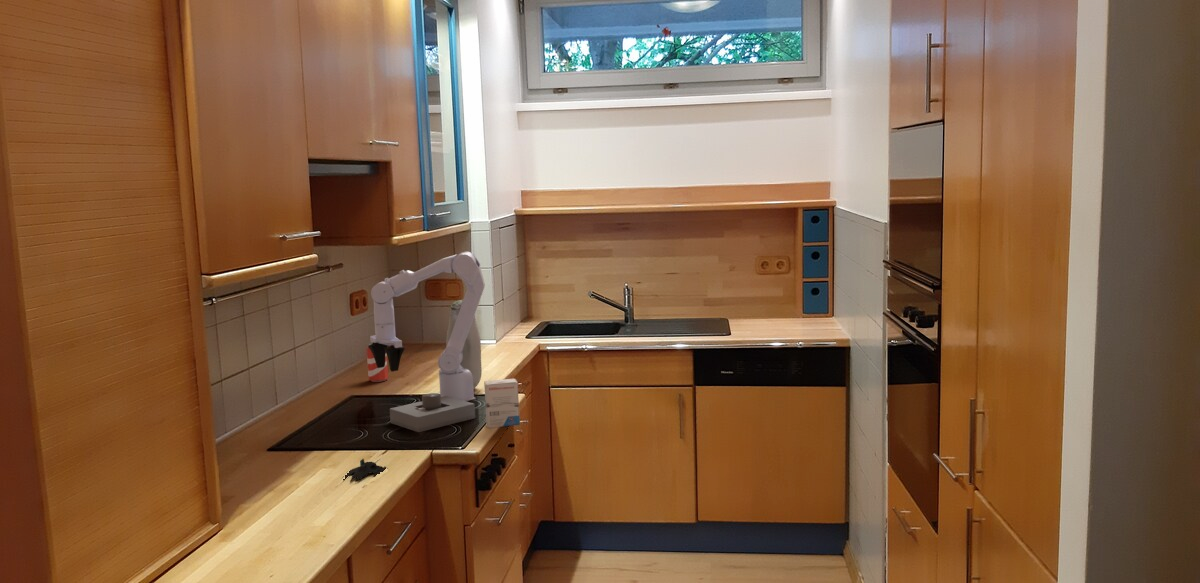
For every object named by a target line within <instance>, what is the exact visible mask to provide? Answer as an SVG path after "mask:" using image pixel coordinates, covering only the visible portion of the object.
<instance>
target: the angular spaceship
mask: <svg viewBox="0 0 1200 583" xmlns="http://www.w3.org/2000/svg"><path fill="white" fill-rule="evenodd" d="M380 460H381V458H379V459H378V461H380ZM386 468H387V467H386V466H384V467H383V466H381V465H377V461H375V462H374V461H365V459H364V458H362V459H361V460H359V466H357V467H354V468H352V469H350V471H349V470H348V471H349V473H347V472H346V473H347V475H345V474H344V475H345V479H346V478H347V477H348V476H349V477H351V479H350V480H349V482H350V483H351V482H352V481H354V480H355V479H356V480H355V481H354V483H356V482H359V481H360V480H362V479H364V478H366V477H367V476H369V475H370V474H374V475H373V476H376V475H377V474H380V472H383V471H384V470H385V469H386ZM351 474H352V475H351ZM349 477H348V478H349ZM348 478H347V479H348ZM345 479H343V480H344V481H345ZM347 479H346V480H347Z"/></svg>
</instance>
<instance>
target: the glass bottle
mask: <svg viewBox="0 0 1200 583" xmlns="http://www.w3.org/2000/svg"><path fill="white" fill-rule="evenodd" d="M463 300H464V299H460V300H456V301H454V302H452V304H451V305H450V309H449V321H448V328H447V332H446V340H445V341H446V344H445V345H447V344H448V342H449V339H450V336H451V334H452V331H453V328H454V325H455V322H456V319H457V317H458V314H459V311H460V308H461V305H462V303H463ZM481 346H482V344H481V336H480V332H479V327H478V324H477V321H476V314H475V315H474V318H473V321H472V324H471V326H470V329H469V332H468V335H467V338H466V340H465V344H464V347H463V350H462V353H463V359H462V362H461V363H460V365H461V366H462V367H463V368H464V369H468V370H469V371H470V372H471V374H472V376H473V389H475V388H477V387H478V385H479V383H480V381H481V379H482V374H483V373H482V371H483V370H482V369H483V368H482V347H481Z"/></svg>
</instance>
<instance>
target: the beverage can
mask: <svg viewBox="0 0 1200 583" xmlns="http://www.w3.org/2000/svg"><path fill="white" fill-rule="evenodd" d="M371 344H372V343H369V344H368V345H371ZM366 360H367V361H366V362H367V372H368V373H367V374H368V380H369V381H370V382H373V383H380V382H385V381H386V380H387V379H389V373H388V372H389V370H388V356H387V354H385V367H382V368H377V365H376V362H375V359H374V356H373V354H372V352H371V350H370V349H369V347H367V348H366Z"/></svg>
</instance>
